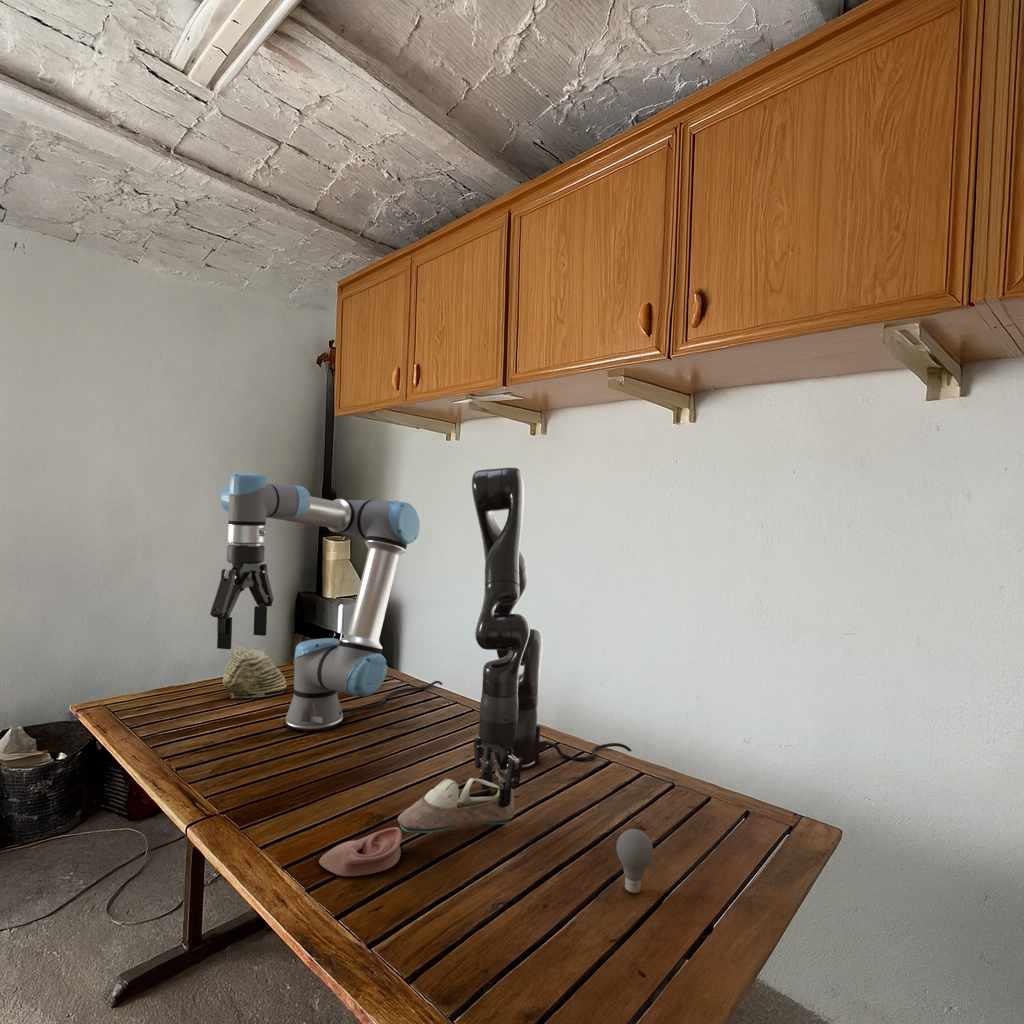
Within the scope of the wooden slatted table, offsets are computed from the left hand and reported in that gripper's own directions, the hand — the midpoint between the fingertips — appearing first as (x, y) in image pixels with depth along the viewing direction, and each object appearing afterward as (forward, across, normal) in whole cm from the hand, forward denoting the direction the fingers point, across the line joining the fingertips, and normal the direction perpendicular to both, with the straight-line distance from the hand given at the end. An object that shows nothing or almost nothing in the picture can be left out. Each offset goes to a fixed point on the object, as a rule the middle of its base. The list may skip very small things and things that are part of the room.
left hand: (242, 641), depth 138 cm
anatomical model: (+31, -22, -37) cm, 53 cm away
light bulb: (+31, -20, -84) cm, 92 cm away
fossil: (+31, +56, +29) cm, 70 cm away
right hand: (+26, -5, -58) cm, 64 cm away
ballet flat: (+29, -10, -51) cm, 60 cm away
